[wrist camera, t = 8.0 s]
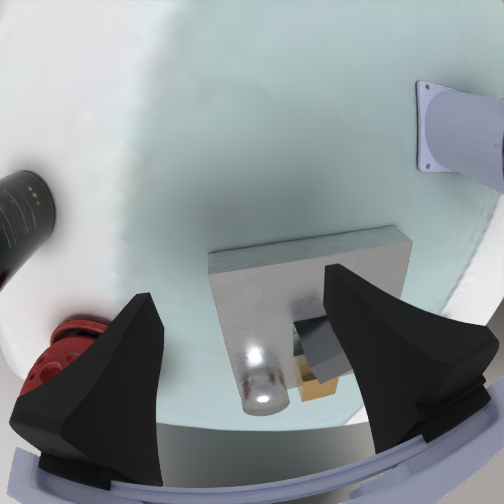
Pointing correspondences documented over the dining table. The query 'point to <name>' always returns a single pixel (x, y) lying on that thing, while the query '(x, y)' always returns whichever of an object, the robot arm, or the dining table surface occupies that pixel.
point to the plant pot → (62, 350)
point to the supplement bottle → (22, 221)
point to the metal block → (322, 348)
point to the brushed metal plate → (291, 306)
